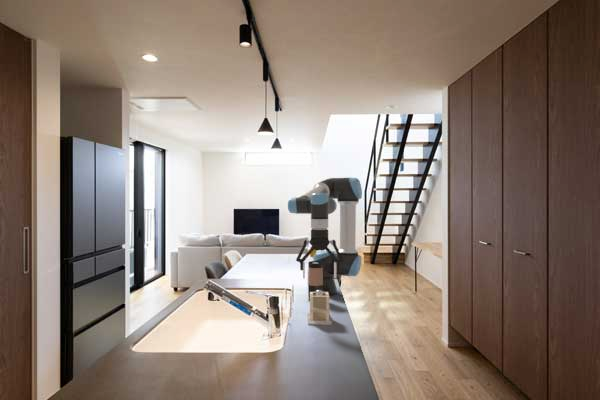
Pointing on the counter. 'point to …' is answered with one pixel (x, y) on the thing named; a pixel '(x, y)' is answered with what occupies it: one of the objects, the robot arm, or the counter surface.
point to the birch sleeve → (319, 306)
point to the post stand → (319, 322)
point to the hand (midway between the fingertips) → (319, 277)
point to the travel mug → (315, 276)
